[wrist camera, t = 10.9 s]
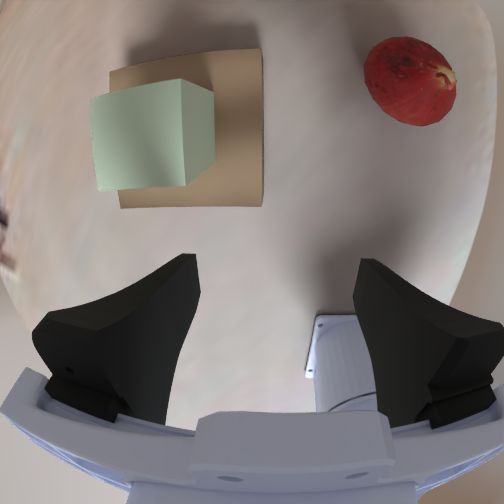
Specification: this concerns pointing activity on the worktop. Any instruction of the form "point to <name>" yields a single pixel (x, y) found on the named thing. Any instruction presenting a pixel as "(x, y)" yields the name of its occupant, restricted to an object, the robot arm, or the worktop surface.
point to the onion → (410, 80)
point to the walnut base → (226, 127)
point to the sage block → (152, 135)
